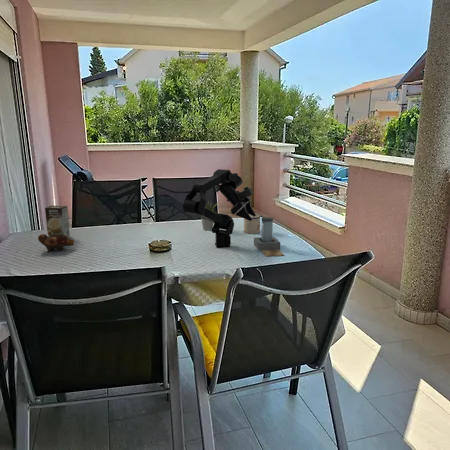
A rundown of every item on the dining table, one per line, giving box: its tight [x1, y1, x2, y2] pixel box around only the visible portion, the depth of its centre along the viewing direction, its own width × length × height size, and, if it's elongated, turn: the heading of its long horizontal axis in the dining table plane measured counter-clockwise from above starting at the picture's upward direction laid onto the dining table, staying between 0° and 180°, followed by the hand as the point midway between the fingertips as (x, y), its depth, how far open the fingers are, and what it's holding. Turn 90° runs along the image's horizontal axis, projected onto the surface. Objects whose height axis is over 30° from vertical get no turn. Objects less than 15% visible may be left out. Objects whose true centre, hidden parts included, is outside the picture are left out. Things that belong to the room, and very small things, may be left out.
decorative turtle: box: [38, 233, 75, 252], centre depth 179 cm, size 10×15×8 cm, turn 111°
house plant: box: [200, 200, 219, 231], centre depth 214 cm, size 14×14×16 cm
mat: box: [261, 249, 285, 258], centre depth 174 cm, size 8×8×1 cm
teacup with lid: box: [243, 212, 261, 235], centre depth 210 cm, size 12×9×12 cm
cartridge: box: [261, 216, 274, 242], centre depth 182 cm, size 5×5×14 cm
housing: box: [253, 236, 281, 252], centre depth 183 cm, size 10×10×4 cm
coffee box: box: [44, 205, 71, 238], centre depth 199 cm, size 9×6×16 cm
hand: (253, 218), depth 182 cm, fingers open, 9 cm apart
